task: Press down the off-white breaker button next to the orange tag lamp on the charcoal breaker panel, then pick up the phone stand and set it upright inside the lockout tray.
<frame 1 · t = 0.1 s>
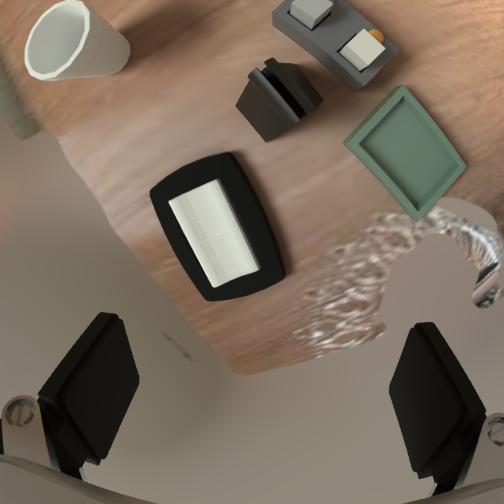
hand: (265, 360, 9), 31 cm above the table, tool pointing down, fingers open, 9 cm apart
breaker panel: (330, 39, 30), on the table
lockout tray: (405, 152, 35), on the table
foam cup: (111, 55, 32), on the table
light switch: (218, 230, 41), on the table
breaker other: (310, 8, 24), point 6 cm above the table, slide at 0.0 cm
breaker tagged: (361, 50, 25), point 6 cm above the table, slide at 0.0 cm
phone stand: (279, 102, 34), on the table
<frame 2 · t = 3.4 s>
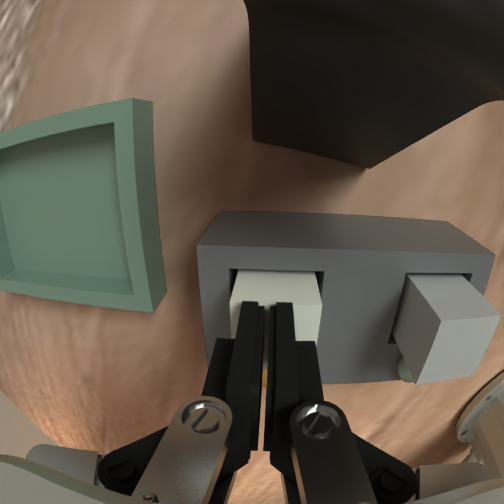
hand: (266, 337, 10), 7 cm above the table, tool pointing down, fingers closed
breaker panel: (337, 274, 17), on the table
lockout tray: (60, 206, 16), on the table
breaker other: (442, 325, 10), point 6 cm above the table, slide at 0.0 cm
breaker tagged: (275, 313, 12), point 5 cm above the table, slide at 1.1 cm, touching gripper
phone stand: (328, 70, 13), on the table
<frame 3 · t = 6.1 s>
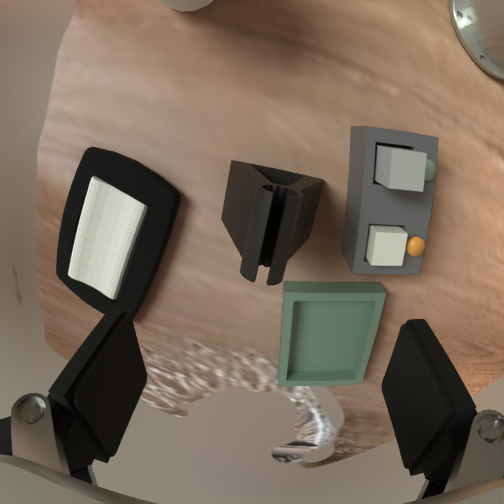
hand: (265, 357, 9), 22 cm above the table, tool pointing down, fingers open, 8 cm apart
breaker panel: (380, 193, 29), on the table
lockout tray: (326, 332, 35), on the table
light switch: (111, 237, 33), on the table
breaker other: (399, 167, 22), point 6 cm above the table, slide at 0.0 cm
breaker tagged: (383, 242, 26), point 5 cm above the table, slide at 1.7 cm
phone stand: (271, 197, 30), on the table
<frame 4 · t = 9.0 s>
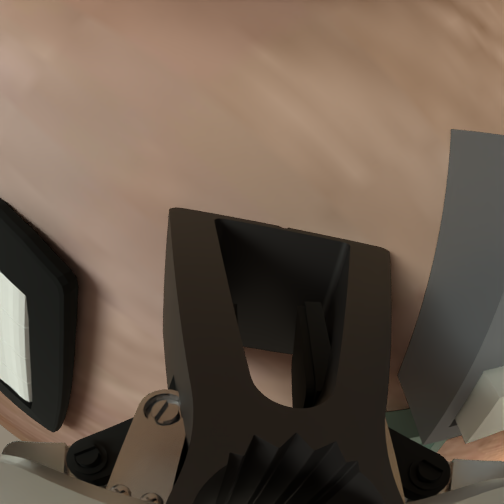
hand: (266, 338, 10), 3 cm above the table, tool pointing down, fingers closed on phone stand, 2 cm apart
breaker panel: (483, 272, 12), on the table
lockout tray: (349, 462, 19), on the table
light switch: (9, 319, 17), on the table
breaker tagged: (490, 387, 9), point 5 cm above the table, slide at 1.7 cm
phone stand: (268, 289, 13), on the table, touching gripper
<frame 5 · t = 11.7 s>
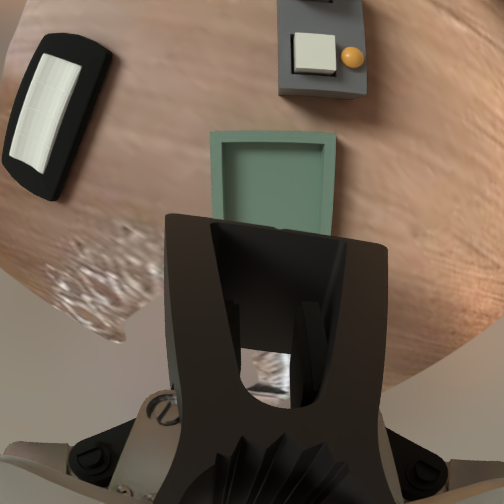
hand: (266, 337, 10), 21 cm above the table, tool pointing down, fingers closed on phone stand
breaker panel: (314, 35, 23), on the table
lockout tray: (272, 202, 30), on the table
light switch: (51, 112, 28), on the table
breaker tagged: (312, 55, 20), point 5 cm above the table, slide at 1.7 cm
phone stand: (268, 290, 13), point 18 cm above the table, touching gripper
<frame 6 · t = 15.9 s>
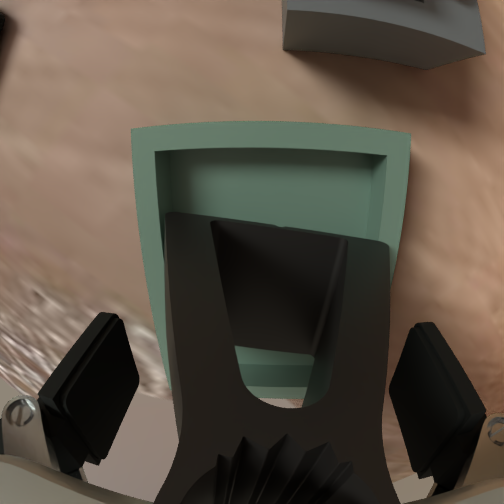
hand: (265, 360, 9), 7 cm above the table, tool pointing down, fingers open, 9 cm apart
lockout tray: (269, 268, 15), on the table
phone stand: (269, 289, 13), point 2 cm above the table, touching lockout tray
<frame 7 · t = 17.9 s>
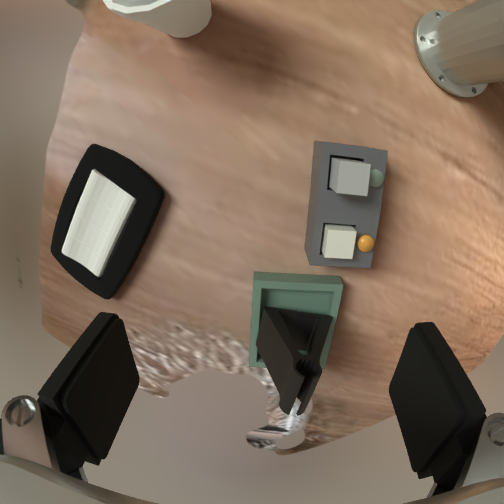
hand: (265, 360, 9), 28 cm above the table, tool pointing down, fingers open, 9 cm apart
breaker panel: (338, 198, 35), on the table
lockout tray: (291, 319, 41), on the table
foam cup: (186, 16, 27), on the table
light switch: (102, 222, 38), on the table
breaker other: (349, 175, 28), point 6 cm above the table, slide at 0.0 cm
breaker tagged: (337, 238, 32), point 5 cm above the table, slide at 1.7 cm
phone stand: (293, 328, 39), point 2 cm above the table, touching lockout tray
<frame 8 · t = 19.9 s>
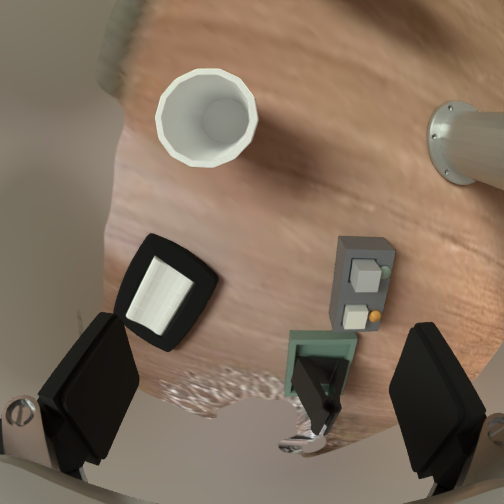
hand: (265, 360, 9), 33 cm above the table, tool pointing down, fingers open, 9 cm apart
breaker panel: (355, 277, 44), on the table
lockout tray: (317, 361, 51), on the table
foam cup: (226, 120, 37), on the table
light switch: (162, 294, 49), on the table
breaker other: (364, 275, 37), point 6 cm above the table, slide at 0.0 cm
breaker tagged: (353, 313, 42), point 5 cm above the table, slide at 1.7 cm
phone stand: (319, 369, 49), point 2 cm above the table, touching lockout tray
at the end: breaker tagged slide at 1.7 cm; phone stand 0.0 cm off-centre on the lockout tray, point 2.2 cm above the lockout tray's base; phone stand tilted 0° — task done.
